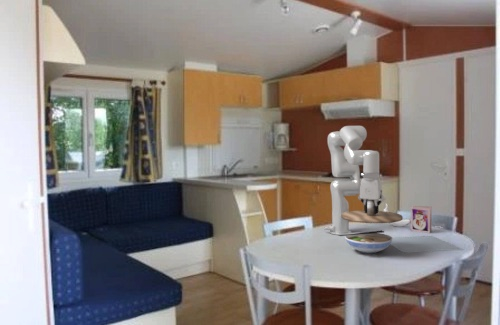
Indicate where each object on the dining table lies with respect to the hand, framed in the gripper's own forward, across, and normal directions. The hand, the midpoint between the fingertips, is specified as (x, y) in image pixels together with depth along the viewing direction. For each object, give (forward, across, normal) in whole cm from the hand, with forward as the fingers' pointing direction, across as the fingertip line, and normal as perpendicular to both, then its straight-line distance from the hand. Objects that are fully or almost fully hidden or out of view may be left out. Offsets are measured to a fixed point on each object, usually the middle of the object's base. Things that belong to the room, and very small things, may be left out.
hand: (371, 212), depth 212 cm
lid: (+2, 0, 0) cm, 2 cm away
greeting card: (+19, +6, +58) cm, 62 cm away
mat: (+19, +14, +27) cm, 36 cm away
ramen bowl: (+19, -1, -2) cm, 19 cm away
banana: (+20, -11, +65) cm, 69 cm away
